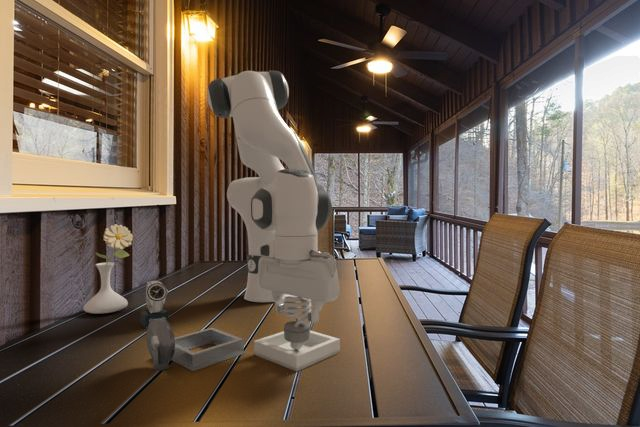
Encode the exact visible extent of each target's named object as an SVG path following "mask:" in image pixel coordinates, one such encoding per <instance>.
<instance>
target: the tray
mask: <svg viewBox="0 0 640 427" xmlns="http://www.w3.org/2000/svg"><path fill="white" fill-rule="evenodd" d="M290 344H291V343H290V342H289V341H287V340H285V337H284V330H283V331H280V332H277V333H275V334H270V335H268V336H264V337H262V338H259V339H255V340H253V355H254V356H256V357H259V358H261V359H264V360H267V361H270V363H275V364H277V365H279V366H282V367H284V368H287V369H288V370H292V371H295V372H299V371H301V370H303V369H306V368H308V367H310V366H312V365H315V364H318V363H320V362H321V361H325V360H326V359H328V358H331V357H333V356H335V355H338V354H340V353H341V339H340V338H338V337H335V336H331V335H327V334H324V333H320V332H317V331H314V330H311V329H310V335H309V339H308V340H307V341H305V342H303V347H302V348H301V349H299V350H294V349H293V348H291V346H290Z"/></svg>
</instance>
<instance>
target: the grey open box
mask: <svg viewBox="0 0 640 427" xmlns="http://www.w3.org/2000/svg"><path fill="white" fill-rule="evenodd" d="M244 340H245V339H244V338H241V337H239V336H236V335H233V334H230V333H228V332H227V331H223V330H220V329H218V328H215V327H209V328H206V329H202V330H199V331H194V332H191V333H187V334H184V335H183V334H182V335H179V336H177V337H175V334H174V331H173V328H172V326H171V324H170V323H169V320H168V321H167V320H166V319H163V318H161V319H157V320H153V321H151V322H150V323H149V325H148V328H146V343H147V344H146V345H147V348H148V353H149V355H150V357H151V359H152V365H153V367H152V368H154V370H156V371H157V372H161V371H165V370H167V369H169V362H170V361H173V362H174V363H176V364H178V365H180V366H182V367H183V368H186V369H188V370H190V371H192V372H195V371H197V370H201V369H203V368H206V367H209V366H212V365H214V364H218V363H221V362H224V361H226V360H229V359H232V358H236V357H238V356H241V355H244V354H245V352H244V350H245V347H244V345H245V344H244V343H245V342H244ZM209 344H212V345H214V346H211V347H208V348H205V349H201V350H198V351H193V349H195V348H200V347H202V346H205V345H209ZM199 346H200V347H199ZM192 348H193V349H192ZM189 349H190V350H189Z"/></svg>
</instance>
